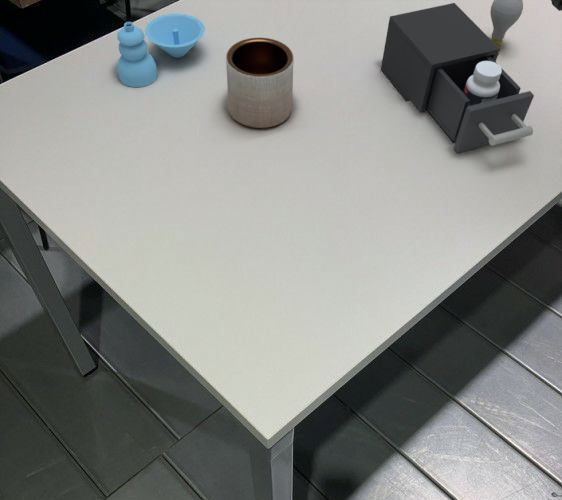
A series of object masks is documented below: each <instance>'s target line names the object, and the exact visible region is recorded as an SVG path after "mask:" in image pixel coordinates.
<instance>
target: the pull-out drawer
mask: <svg viewBox="0 0 562 500" xmlns="http://www.w3.org/2000/svg"><path fill="white" fill-rule="evenodd" d="M482 61H491V62H495V61H494V60H493V59H492V58H491V57H490V56H485V57H481V58H477V59H473V60H468V61H464V62H460V63H456V64H451V65H447V66H443V67H438V68H435V71H434V75H433V79H432V83H431V87H430V91H429V95H428V99H427V103H426V107H425V110H427V111H428V113H429V114H430V115H431V116H432V118H433V119H434V120H435V121H436V122H437V123H438V125H439V126H440V127H441V128H442V130H443V131H444V132H445V134H446V135H447V136H448V137H449V139H451V141H452V142H453V143H454V142H455V143H454V147H453V151H454V152H455V153H456V155H457V154H462V153H466V152H469V151H473V150H477V149H480V148H485V147H488V146H491V147H493V146H496V145H501V144H504V143H507V142H512V141H516V140H519V139H523V138H526V137H530V136H532V135H533V134H534V128H533V127H532V126H531V125H528V126H527V125H526V124H525V123H524V121H525V119H526V117H527V114H528V111H529V109H530V107H531V105H532V102H533V99H534V98H535V95H534V94H533V92H531V90H528V91H524V92H521V93H520V91H521V86H519V84H518V83H517V82H516V81H515V80H514V79H513V78H512V77H511V76H510V75H509V74H508V73H507V72H506V71H505V70H504V69H503V68H502V67H501V69H502V72H501V75H500V79H499V80H498V81H499V84H500V89H499V93H498V96H497V98H496V100H492V101H488V102H484V103H480V104H477V105H473V106H469V103H470V100H469V99H468V98H467V97H466V96H465V94H464V93H463V92H464V89H465V85H466V82H467V80H468V78H469V77H470V76H472V75H473V74H474V71H475V68H476V65H477V64H478V63H479V62H482ZM495 63H497V61H496V62H495ZM468 106H469V107H468Z"/></svg>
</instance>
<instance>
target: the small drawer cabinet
mask: <svg viewBox="0 0 562 500" xmlns="http://www.w3.org/2000/svg"><path fill="white" fill-rule="evenodd" d="M500 51H501V48H500V47H498V46H497V45H496V44H495V43H494V42H493V41H492V40H491V38H490V37H489V36H488V35H487V34H486V33H485V32H484V31H483V29H481V28H480V27H479V26H478V25H477V24H476V23H475V22H474V20H472V19H471V18H470V17H469V16H468V15H467V14H466V13H465V11H463V10H462V8H460V6H458V5H457V4H456V3H455V2H451V3H448V4H442V5H437V6H433V7H428V8H424V9H423V8H422V9H419V10H413V11H409V12H404V13H399V14H395V15H390V16H389V19H388V25H387V30H386V36H385V43H384V48H383V54H382V60H381V67H380V70H381V72H382V73H383V74H384V76H385V77H386V78H387V80H388V81H389V83H391V84H392V86H393V87H394V88H395V89H396V90H397V92H398V93H399V94H400V95H401V97H402V98H403V99H404V101H405V102H411V104H412V105H413V106H414V107H415V108H416V110H417V111H418V112H419V114H422V113H425V110H426V108H425V107H426V103H427V99H428V95H429V91H430V87H431V83H432V79H433V75H434V71H435V68H438V67H443V66H447V65H451V64H456V63H460V62H464V61H468V60H473V59H477V58H481V57H485V56H490V57H491V58H492V59H493V60H494V61H495V62H496V63H497V59H498V56H499V53H500Z"/></svg>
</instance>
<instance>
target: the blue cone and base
mask: <svg viewBox="0 0 562 500" xmlns="http://www.w3.org/2000/svg"><path fill="white" fill-rule="evenodd" d="M123 26H124V27H122V28H121V29H120V30H119V31H117V36H116V37H117V41H118V42H119V43H118V51H119V54H120V56H119V58H118V60H117V63H116V64H117V65H116V70H117V75H118V79H119V81H120V82H121V83H122V84H123V85H124V86H127V87H130V88H144V87H147V86H150V85H151V84H153V83H154V82H155V81H157V78H158V69H157V63H156V61H155V59H154V58H153V56H152V55H151V54H150V53H149V52H148V44H147V42H146V41H145V40H144V39H145V37H147V40H149V41H150V42H151V43H153V44H154V45H156V46H157V47H159V48H160V49H161V50H162V51H164V52H166V53H167V54H169V55H170V56H172V57H173V58H177V59H180V58H183V57H184V56H185V55H186V54H188V52H189V51H190V50H191V49H192V48H193V47H194V46H195V45H196V44H197V43H198V42H199V41H200V40H201V39H202V38H203V36H204V34H205V31H206V28H205V25H204V23H203V22H202V20H200V19H199V18H197V17H195V16H193V15H190V14H189V15H188V14H186V13H167V14H163V15H161V16H158V17H155V18H153V19H152V20H151V21H150V22H149V23H148V24H147V25H146V26H145V31H143V30H142V28H140V27H138V26H135V25H134V22H132V21H126V22H125V23H124V24H123Z"/></svg>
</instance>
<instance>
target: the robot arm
mask: <svg viewBox="0 0 562 500" xmlns="http://www.w3.org/2000/svg"><path fill="white" fill-rule="evenodd" d="M550 1H551V5H552V6H553V7H554V8H555V9H556V10H557V11H559V12H561V11H562V0H550Z"/></svg>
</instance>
